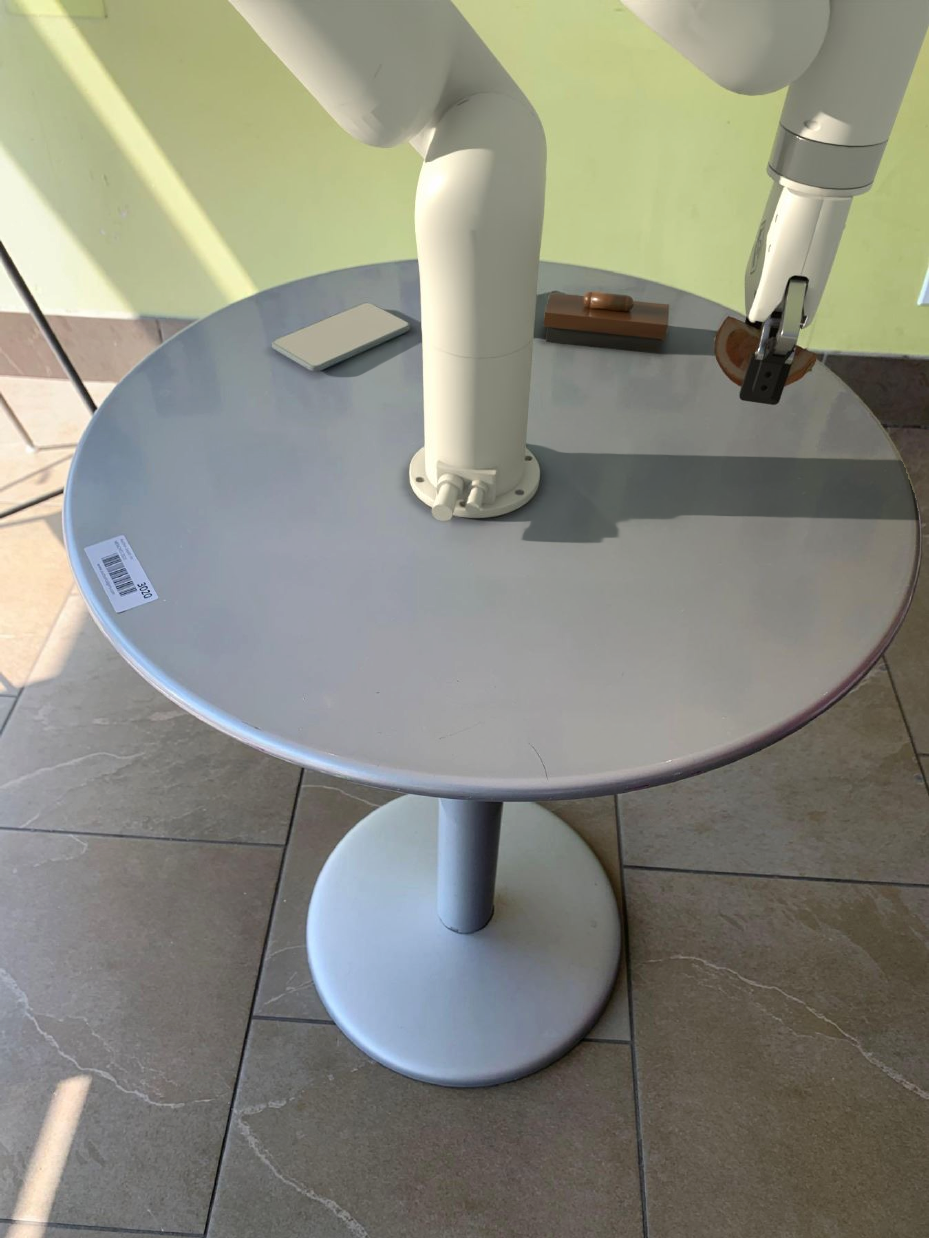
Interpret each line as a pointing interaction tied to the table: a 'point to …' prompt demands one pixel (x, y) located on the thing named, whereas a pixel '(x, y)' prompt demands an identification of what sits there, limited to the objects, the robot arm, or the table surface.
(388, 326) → the smartphone
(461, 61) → the robot arm
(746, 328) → the fruit slice
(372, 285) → the table surface
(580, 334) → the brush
